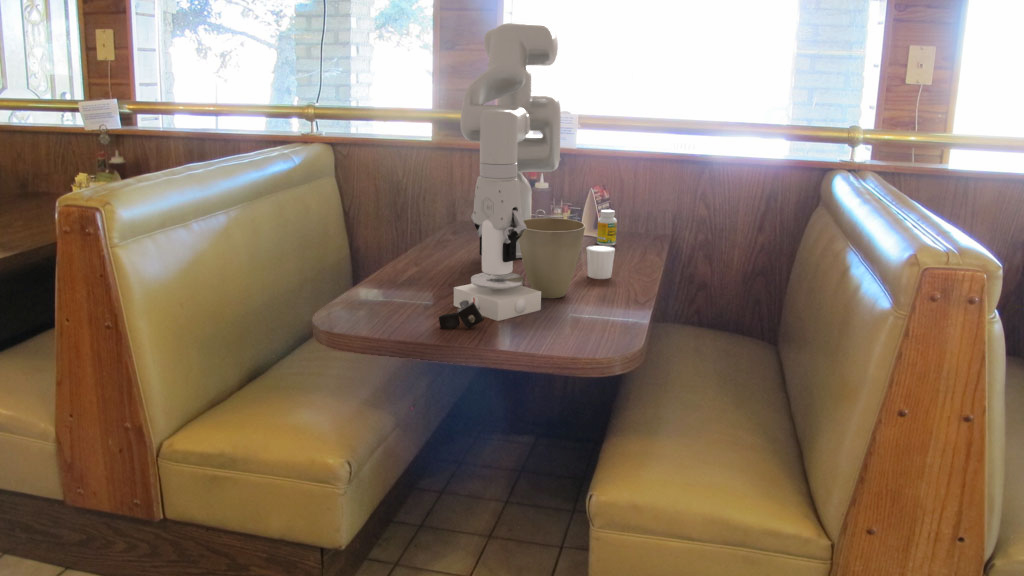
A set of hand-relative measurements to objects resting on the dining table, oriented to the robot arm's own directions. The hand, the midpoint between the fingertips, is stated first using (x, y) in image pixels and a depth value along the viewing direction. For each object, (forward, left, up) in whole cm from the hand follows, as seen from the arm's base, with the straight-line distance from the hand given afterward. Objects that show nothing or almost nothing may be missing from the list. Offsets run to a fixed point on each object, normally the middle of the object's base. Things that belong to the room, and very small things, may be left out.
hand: (497, 257), depth 174 cm
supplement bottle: (-27, +66, -11) cm, 72 cm away
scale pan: (0, 0, -6) cm, 6 cm away
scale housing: (0, 0, -11) cm, 11 cm away
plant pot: (0, +16, -11) cm, 19 cm away
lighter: (+6, -15, -11) cm, 20 cm away
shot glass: (-4, +37, -11) cm, 39 cm away
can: (0, 0, -3) cm, 3 cm away
